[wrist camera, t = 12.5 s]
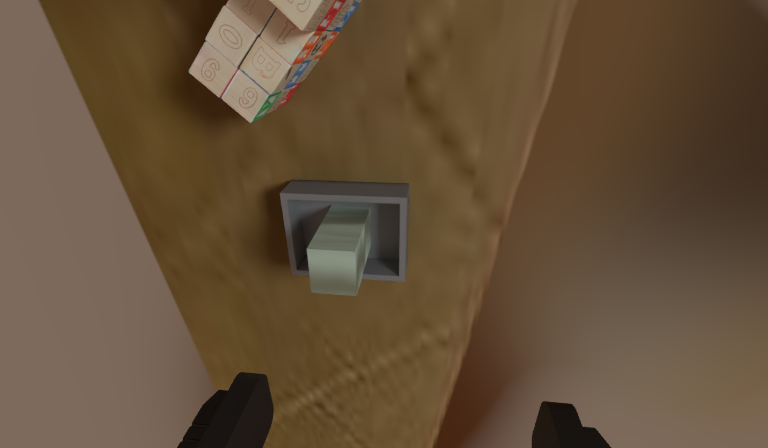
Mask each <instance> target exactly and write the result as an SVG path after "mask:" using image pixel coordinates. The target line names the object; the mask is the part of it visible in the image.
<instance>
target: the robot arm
mask: <svg viewBox="0 0 768 448" xmlns="http://www.w3.org/2000/svg"><path fill="white" fill-rule="evenodd" d="M273 412H274V408H273V402H272V397H271V393H270V388H269V384H268V379H267V376H266V375H265V374H255V373H245V372H240V373H239V374H238V375H237V376H236V377H235V379H234V381H233V383H232V384H231V386H230V388H229V390H228V391H225V390H218V391H217V392H216V393H215V394H214V395H213V396H212V397H211V398H210V399H209V400H208V401H206V403H205V404H203V406H202V408H201V409H200V411H199V412H198V414H197V416H196V417H195V419H194V421H193V422H192V426H191V427H189V429H188V430H187V432H186V434H185V435H184V437H183V441H182V442H180V444H179V445H178V447H177V448H263V445H264V443H265V440H266V438H267V435H268V433H269V430H270V427H271V424H272V420H273ZM532 448H611V447H610V446H609V444H608V443H607V442H606V441H605V440H604V438H603V437H602V436H601V435H600V433H599V432H598V431H597V430H596V429H595V428H590V427H582V424H581V421H580V419H579V416H578V413H577V411H576V409H575V407H574V406H573V405H572V404H568V403H557V402H546V401H544V402H542V403H541V407H540V410H539V413H538V417H537V420H536V423H535V427H534V430H533V434H532Z"/></svg>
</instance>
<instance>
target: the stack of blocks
mask: <svg viewBox="0 0 768 448" xmlns="http://www.w3.org/2000/svg"><path fill="white" fill-rule="evenodd" d="M361 1H362V0H228V1H227V3H226V5H224V6H223V7H222V9H221V11H220V13H219V14H218V16H217V18H216V20H215V21H214V23H213V25H212V27H211V29H210V30H209V32H208V34H207V36H206V38H205V40H206V42H205V43H204V44H203V46H202V48H201V49H200V51H199V53H198V55H197V57H196V58H195V60H194V62H193V64H192V65H191V67H190V69H189V73H190V74H191V75H193V76H194V77H195V78H196V79H197V80H198V81H200V82H201V83H202V84H203V85H205V86H206V87H207V88H208V89H209V90H210V91H212V92H213V93H214V94H215V95H216V96H218V97H219V98H221V99H222V100H223V101H225V102H226V103H227V104H228V105H229V106H230V107H232V108H233V109H234V110H235V111H236V112H238V113H239V114H240V115H241V116H242V117H244V118H245V119H246V120H247V121H249V122H250V123H253V122H255V121H257V120H259V119H261V118H263V117H264V116H265V115H266V114H268V113H270V112H272V111H274V110H276V109H277V108H278V107H281V106H283V105H284V104H286V103H287V102H288V100H289V99H290V97H291V96H292V95H293V93H294V92H295V90H296V89H297V88H298V86H299V85H300V83H301V82H302V81H304V79H305V78H306V77H307V75H308V74H309V73H310V71H311V70H312V69H313V67H314V66H315V65H316V63H317V62H318V61H319V59H320V57H321V56H322V55H323V54H324V53H325V51H326V50H327V49H328V47H329V46H330V45H331V43H332V42H333V40H334V39H335V38H336V36H337V35H338V34H339V31H340V29H341V28H342V27H343V26H344V24H345V23H346V21H347V20H348V19H349V17H350V16H351V15H352V13H353V12H354V11H355V9H356V8H357V7H358V5H359V3H360V2H361Z"/></svg>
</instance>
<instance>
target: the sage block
mask: <svg viewBox="0 0 768 448" xmlns="http://www.w3.org/2000/svg"><path fill="white" fill-rule="evenodd" d="M370 246H371V206H354V205H334V204H332V205H331V207H330V209H329V211H328V212H327V214H326V216H325V218H324V219H323V221H322V223H321V225H320V226H319V228H318V230H317V232H316V233H315V235H314V237H313V239H312V240H311V242H310V244H309V246H308V247H307V256H308V266H309V275H310V285H311V293H323V294H337V295H351V296H357V293H358V289H359V286H360V282H361V279H362V275H363V271H364V268H365V264H366V261H367V257H368V254H369V250H370Z"/></svg>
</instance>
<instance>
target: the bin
mask: <svg viewBox="0 0 768 448" xmlns="http://www.w3.org/2000/svg"><path fill="white" fill-rule="evenodd" d="M280 199H281V206H282V212H283V219H284V226H285V233H286V240H287V247H288V254H289V261H290V268H291V274H292V275H301V276H310V275H309V266H308V256H307V247H308V246H309V244H310V242H311V240H312V239H313V237H314V235H315V233H316V232H317V230H318V228H319V226H320V225H321V223H322V221H323V219H324V218H325V216H326V214H327V212H328V211H329V209H330V207H331V205H332V204H334V205H354V206H371V246H370V250H369V254H368V257H367V261H366V264H365V268H364V271H363V275H362V279H369V280H386V281H403V282H405V278H406V268H407V245H408V205H409V184H404V183H374V182H343V181H312V180H292V181H291V182H290V183H289V184H288V185H287V186H286V187H285V188H284V189H283V190H282V191H281V192H280Z"/></svg>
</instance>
